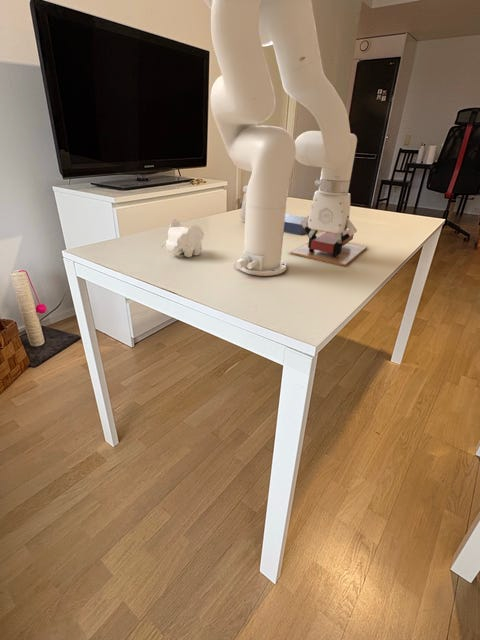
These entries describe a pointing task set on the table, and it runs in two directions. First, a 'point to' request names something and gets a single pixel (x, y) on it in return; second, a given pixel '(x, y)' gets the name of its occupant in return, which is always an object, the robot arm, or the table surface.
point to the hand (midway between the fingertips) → (323, 252)
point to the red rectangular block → (327, 242)
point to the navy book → (294, 224)
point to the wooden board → (331, 254)
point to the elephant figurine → (184, 239)
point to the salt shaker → (243, 205)
